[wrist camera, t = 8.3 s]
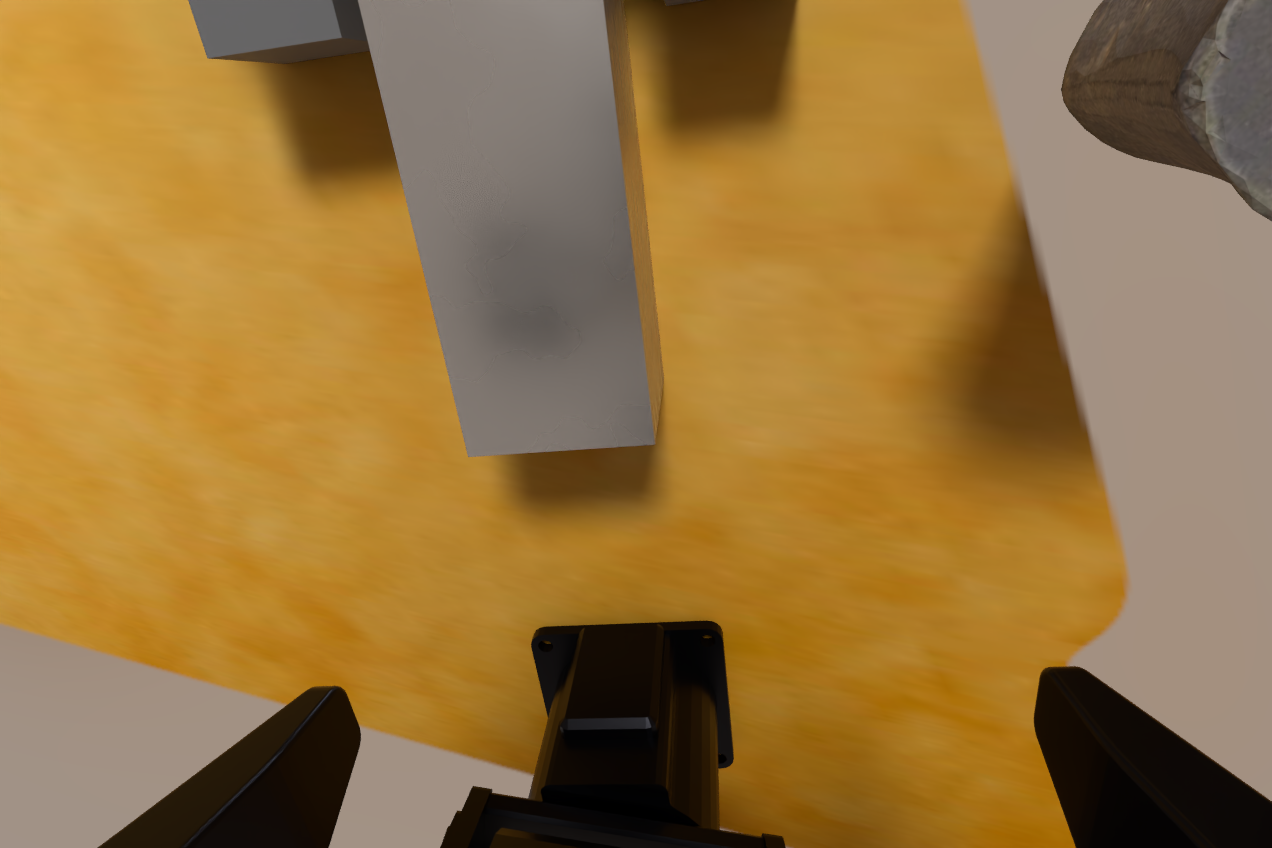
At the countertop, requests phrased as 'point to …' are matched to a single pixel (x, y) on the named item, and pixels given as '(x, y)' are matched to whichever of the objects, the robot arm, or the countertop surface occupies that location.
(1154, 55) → the grey tapered cup
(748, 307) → the countertop surface
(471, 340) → the long gray post
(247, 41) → the grey u-shaped block
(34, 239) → the countertop surface
